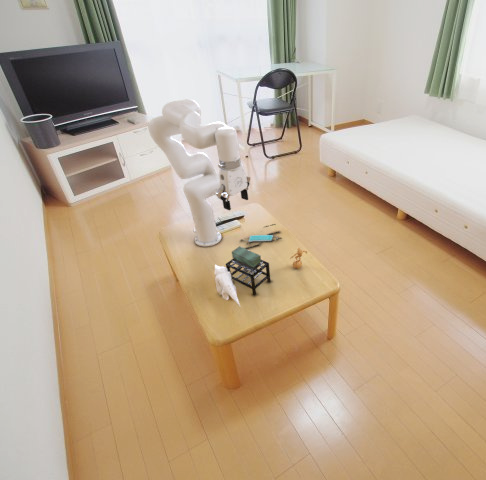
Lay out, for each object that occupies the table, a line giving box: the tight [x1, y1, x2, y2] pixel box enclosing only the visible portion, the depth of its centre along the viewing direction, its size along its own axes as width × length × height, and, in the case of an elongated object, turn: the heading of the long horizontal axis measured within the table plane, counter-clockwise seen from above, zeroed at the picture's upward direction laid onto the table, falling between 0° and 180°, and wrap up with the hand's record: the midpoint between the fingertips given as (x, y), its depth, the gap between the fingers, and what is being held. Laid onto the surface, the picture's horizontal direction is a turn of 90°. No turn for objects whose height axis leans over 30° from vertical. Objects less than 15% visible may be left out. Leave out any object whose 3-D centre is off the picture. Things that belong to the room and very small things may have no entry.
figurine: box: [289, 247, 308, 270], centre depth 144 cm, size 8×6×12 cm
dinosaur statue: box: [213, 264, 241, 307], centre depth 130 cm, size 7×24×11 cm, turn 35°
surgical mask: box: [240, 223, 283, 250], centre depth 164 cm, size 21×4×10 cm
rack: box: [225, 257, 272, 297], centre depth 137 cm, size 14×10×10 cm
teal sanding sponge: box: [231, 245, 262, 271], centre depth 133 cm, size 11×4×5 cm, turn 57°
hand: (236, 204), depth 133 cm, fingers open, 9 cm apart
